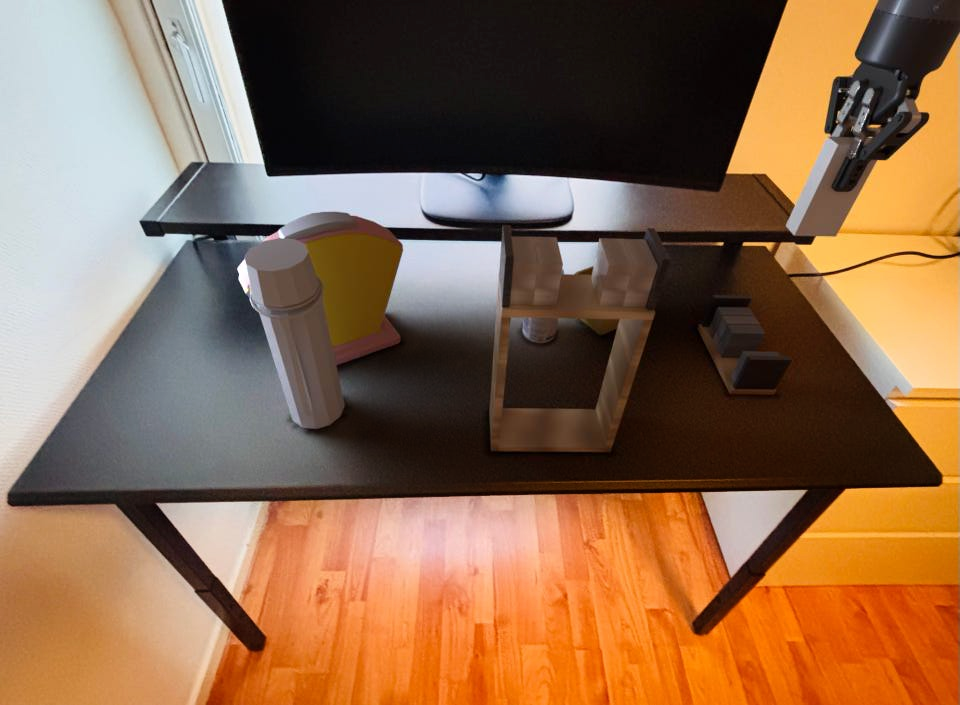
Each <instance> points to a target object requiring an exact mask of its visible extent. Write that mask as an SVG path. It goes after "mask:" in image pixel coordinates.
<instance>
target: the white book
mask: <svg viewBox="0 0 960 705" xmlns="http://www.w3.org/2000/svg"><path fill="white" fill-rule="evenodd" d="M853 140H854V137H831V136H826V138H825V140H824V142H823V144H822V146H821V149H820V151H819V153H818V155H817V157H816V160H815V161H814V164H813V166H812V168H811V169H810V173H809V175H808V177H807V179H806V181H805V183H804V186H803V188H802V189H801V192H800V194H799V196H798V198H797V200H796V202H795V204H794V207H793V209H792V211H791V212H790V213H791V214H790V216H789V218H788V220H787V222H786V224H785V227H786V228H787V229H788V230H789V232H790V233H791V234H792V236H795V237H799V236H800V237H832V238H833V237H835V238H836V237H837V236H838V234H839V232H840V230H841V228H842V226H843V224H844V223H845V221H846V219H847V217H848V215H849V213H850V211H851V210H852V208H853V206H854V204H855V202H856V201H857V199H858V197H859V195H860V193H861V191H862V190H863V188H864V186H865V184H866V182H867V180H868V178H869V176H870V175H871V173H872V171H873V170H874V168H875V166H876V164H877V162H878V160H872V161H870V162H869V163H868V165H867V167H866V169H865V170H864V172H863V174H862V176H861V178H860V180H859V182H858V184H857V185H856V187H855V188H854V189H853V190H852V191H850V192H836V191H834V190H833V189H832V188H831V186H832V184H833V182H834V180H835V178H836V176H837V174H838V172H839V170H840V168H841V166H842V164H843V162H844V160H845V158H846V157H848V152H849V149H850V147H851V144H852V142H853ZM871 140H872V137H868V138H867V139H866V140H865V142H864V145H863V147H865V146H866V145H867V144H868V143H869V142H870V141H871ZM883 147H884V146H882V147H881V148H883Z"/></svg>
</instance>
